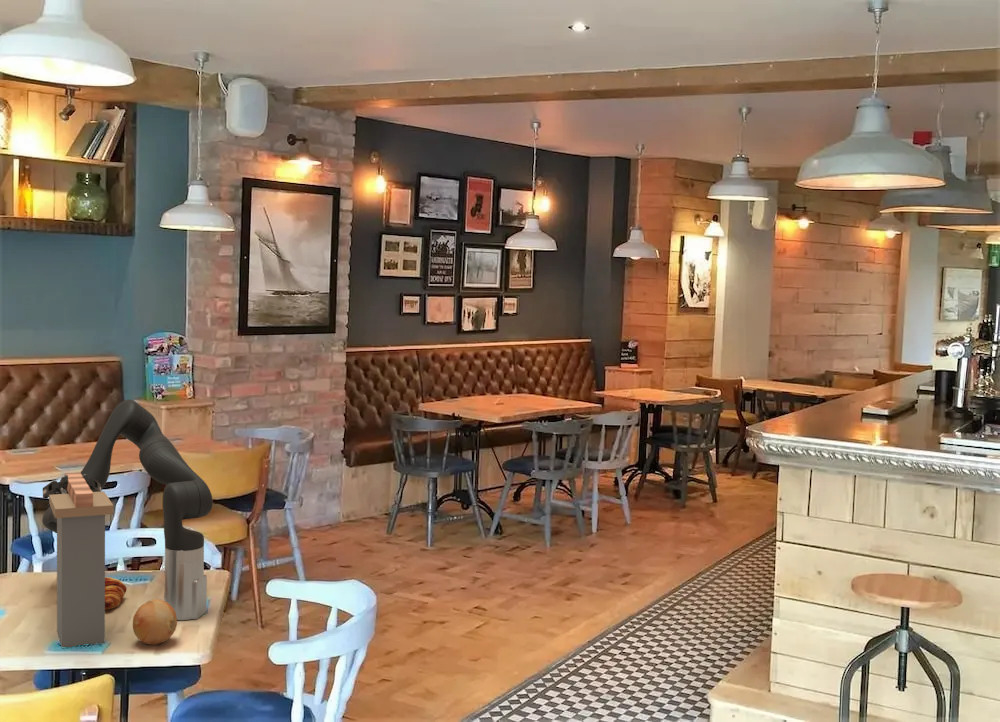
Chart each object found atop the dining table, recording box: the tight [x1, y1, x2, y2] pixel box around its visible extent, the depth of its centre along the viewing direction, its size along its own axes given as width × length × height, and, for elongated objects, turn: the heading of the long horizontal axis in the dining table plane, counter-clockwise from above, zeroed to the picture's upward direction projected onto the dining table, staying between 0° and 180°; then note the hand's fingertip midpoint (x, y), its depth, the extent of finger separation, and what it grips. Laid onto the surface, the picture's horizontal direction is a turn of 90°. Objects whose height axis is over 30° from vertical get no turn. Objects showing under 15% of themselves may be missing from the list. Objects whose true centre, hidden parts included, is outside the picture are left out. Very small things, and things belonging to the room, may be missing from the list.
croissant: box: [105, 576, 128, 611], centre depth 266 cm, size 21×10×8 cm, turn 28°
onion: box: [132, 598, 178, 646], centre depth 237 cm, size 10×10×10 cm
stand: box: [48, 490, 114, 648], centre depth 239 cm, size 16×12×32 cm
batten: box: [64, 471, 93, 508], centre depth 242 cm, size 26×4×3 cm, turn 28°
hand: (75, 478), depth 246 cm, fingers closed on batten, 3 cm apart
